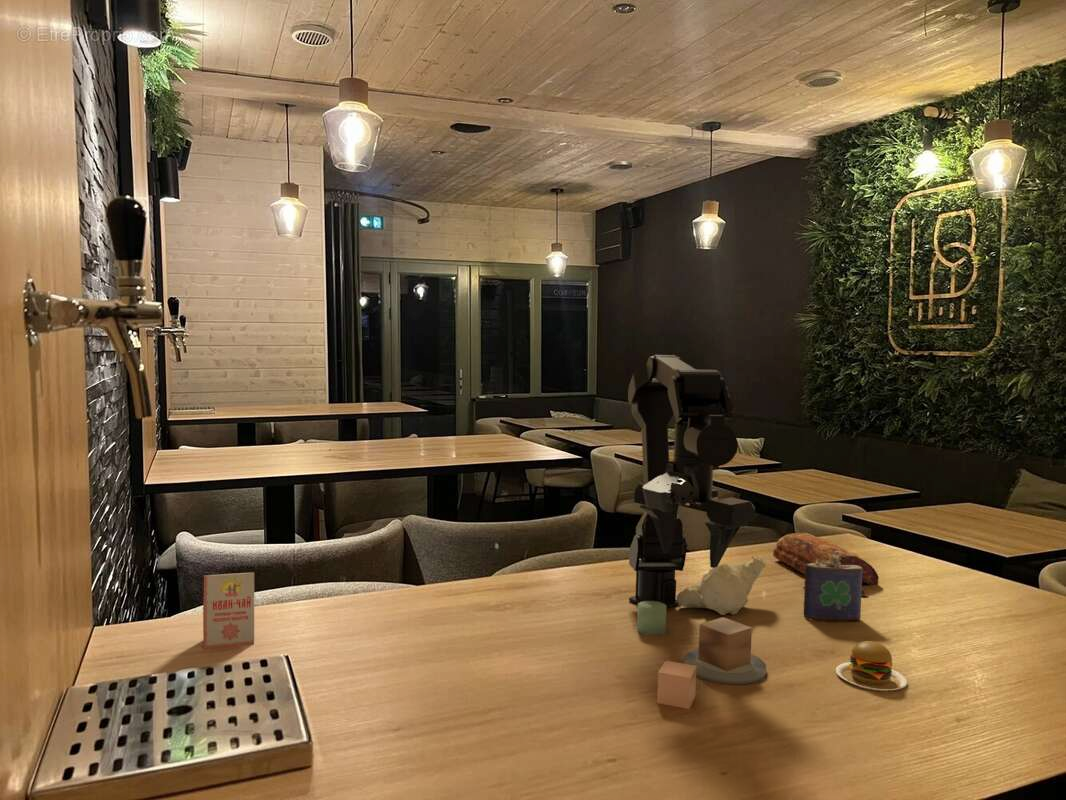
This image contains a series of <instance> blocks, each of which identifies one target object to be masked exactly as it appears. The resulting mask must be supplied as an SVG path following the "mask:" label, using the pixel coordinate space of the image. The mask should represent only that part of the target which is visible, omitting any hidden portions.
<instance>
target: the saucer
mask: <svg viewBox="0 0 1066 800" xmlns="http://www.w3.org/2000/svg"><path fill="white" fill-rule="evenodd" d="M698 651H699V647H697V648H694V649H691V650H689V651H687V653H686V654H685V655H684V658H683V659H684V660H683V662H684V663H683V664H688V665H694V666H697V668H696V678H697V677H698V678H699V679H703V680H705V681H709V682H712V683H717V684H725V685H749V684H753V683H757V682H760V681H761V680H763V679H764V678H765V677H766V675H767V665H766V663H765V661H764V660H762V659H761V658H760V657H758V656H757V655H756V654H755V655H754V654H753V653H751V661H750V663H749V664H746V665H744V666H741V667H738V668H735V669H732V670H729V671H725V670H722V669H720V668H718V667H715V666H713V665H711V664H709V663H706V662H704V661H702V660H699V659H698Z"/></svg>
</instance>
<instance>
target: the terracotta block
mask: <svg viewBox="0 0 1066 800" xmlns="http://www.w3.org/2000/svg"><path fill="white" fill-rule="evenodd" d="M696 668H697V666H694V665H688V664H684V663H681V662H676V661H669V660H665V661H664V662H663V664H662V666H661V667H660V669H659V670H658V672H657V695H656V697H657V698H656V703H657V704H661V705H666V706H672V707H675V708H676V707H677V708H680V709H681V708H682V709H686V710H687V709H688V710H690V708H691V707H692V704H693V701H694V700H695V698H696V689H697V676H696Z"/></svg>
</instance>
